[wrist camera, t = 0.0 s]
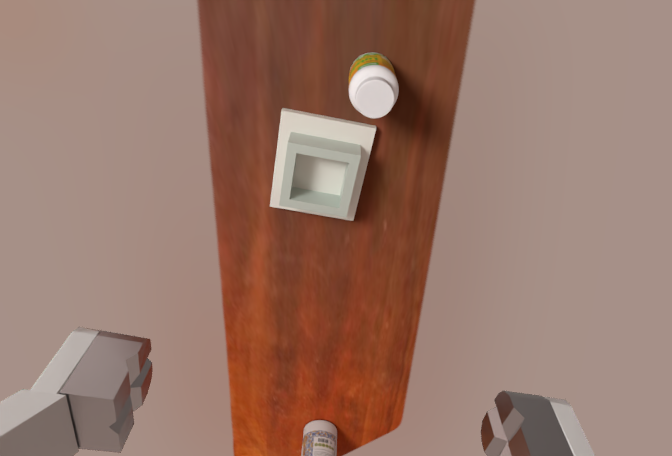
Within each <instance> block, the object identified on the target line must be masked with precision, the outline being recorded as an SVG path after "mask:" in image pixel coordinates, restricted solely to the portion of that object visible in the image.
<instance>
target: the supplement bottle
mask: <svg viewBox="0 0 672 456" xmlns="http://www.w3.org/2000/svg"><path fill="white" fill-rule="evenodd" d="M398 93H399V86H398V81H397V78H396V75H395V72H394V69H393V66H392V64H391V63H390V61H389V60H388V59H387V58H386V57H385V56H383V55H381V54H379V53H366V54H363V55H361V56H360V57H358V58H357V59H356V60H355V61H354V63H353V64H352V66H351V68H350V72H349V97H350V101H351V103H352V105H353V106H354V107H355V109H357V110H358V111H359V112H360V113H362V114H363V115H364V116H366V117H369V118H380V117H383V116H385V115H386V114H387V113H388V112H389V111H390V110H391V109H392V107H393V106H394V104H395V102H396V100H397V98H398Z"/></svg>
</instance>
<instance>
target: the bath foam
mask: <svg viewBox="0 0 672 456" xmlns="http://www.w3.org/2000/svg"><path fill="white" fill-rule="evenodd" d="M336 455H337V429H336V427H335V426H334V425H333V424H332V423H330V422H328V421H325V420H315V421H311V422H309V423H308V424H307V425H306V426H305V428H304V434H303V443H302V454H301V456H336Z"/></svg>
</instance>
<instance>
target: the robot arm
mask: <svg viewBox="0 0 672 456" xmlns="http://www.w3.org/2000/svg"><path fill="white" fill-rule="evenodd" d="M150 351H151V342H150V339H147V338H141V337H136V336H130V335H124V334H118V333H112V332H107V331H101V330H94V329H88V328H81V327H78V328H77V329H75V330H74V331H73V332H71V334H70V335H69V337H68V338H67V339H66V341H65V342H64V344H63V345H62V346H61V348H60V349H59V350H58V352H57V353H56V355H55V356H54V357H53V359H52V360H51V362H50V363H49V364H48V366H47V367H46V369H45V370H44V371H43V373H42V374H41V375H40V377H39V378H38V380H37V381H36V383H35V384H34V385H33V387H32V388H31V389H30V390H27V389H22V390H20V391H18V392H17V393H15V394H13V395H11V396H10V397H8V398H6V399H4V400H3V401H1V402H0V456H74V455H75V454H76V453H77V452H78V451H79V450H78V449H88V450H98V451H109V452H118V453H121V451H122V449H123V446H124V444H125V442H126V440H127V438H128V435H129V433H130V431H131V429H132V427H133V425H134V419H133V411H135V410H136V409H138V408H139V407H140V406H141V405H143V402H144V400H145V398H146V395H147V393H148V389H149V386H150V382H151V377H152V362H151V361H150V360H149V359H148V358H147V357H148V355H149V353H150ZM495 404H496V407H495V408H493V409H491V410H489V411H487V413H486V415H485V417H484V419H483V421H482V427H481V439H482V445H483V449H484V452H485V453H486V455H487V456H595V455H594V452H593V450H592V448H591V446H590V444H589V442H588V440H587V438H586V436H585V434H584V432H583V430H582V428H581V426H580V423H579V421H578V419H577V417H576V415H575V413H574V411H573V409H572V407H571V405H570V404H569V403H568V402H567V401H566V400H563V399H556V398H550V397H543V396H539V395H531V394H524V393H517V392H509V391H502V392H500V393H499V394H498V395H497V397H496V398H495Z"/></svg>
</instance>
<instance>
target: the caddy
mask: <svg viewBox="0 0 672 456" xmlns="http://www.w3.org/2000/svg"><path fill="white" fill-rule="evenodd" d="M375 132H376V126H374V125H369V124H364V123H359V122H354V121H348V120H343V119H338V118H333V117H328V116H323V115H317V114H312V113H307V112H302V111H297V110H291V109H286V108H282V112H281V120H280V128H279V136H278V144H277V152H276V160H275V168H274V176H273V185H272V193H271V201H270V207H276V208H282V209H287V210H293V211H299V212H305V213H310V214H316V215H322V216H327V217H333V218H339V219H344V220H350V221H353V220H354V216H355V212H356V208H357V204H358V200H359V196H360V192H361V188H362V184H363V180H364V176H365V172H366V168H367V164H368V160H369V156H370V152H371V148H372V144H373V140H374V136H375Z"/></svg>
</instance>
